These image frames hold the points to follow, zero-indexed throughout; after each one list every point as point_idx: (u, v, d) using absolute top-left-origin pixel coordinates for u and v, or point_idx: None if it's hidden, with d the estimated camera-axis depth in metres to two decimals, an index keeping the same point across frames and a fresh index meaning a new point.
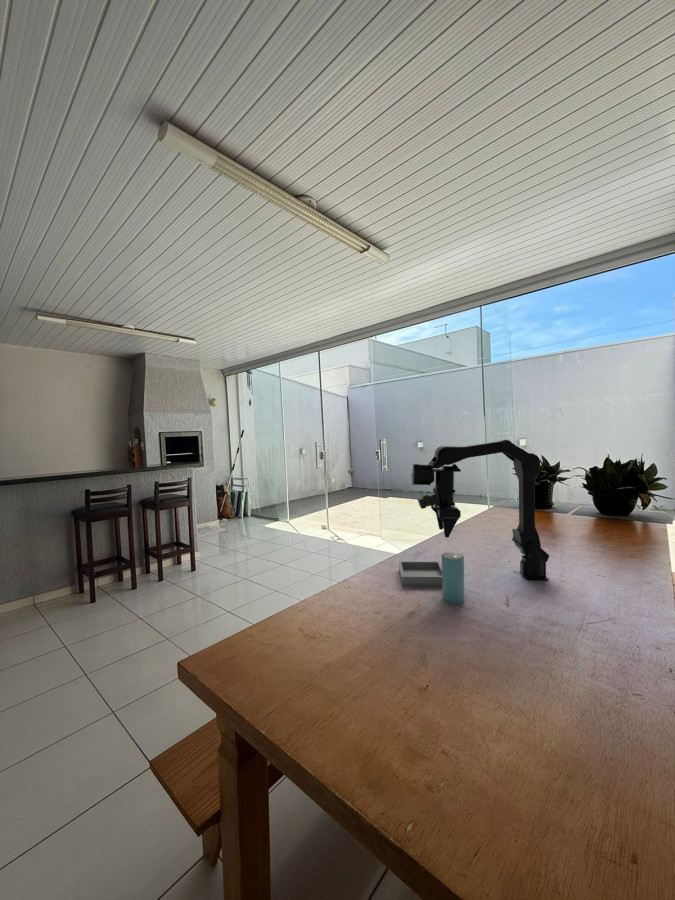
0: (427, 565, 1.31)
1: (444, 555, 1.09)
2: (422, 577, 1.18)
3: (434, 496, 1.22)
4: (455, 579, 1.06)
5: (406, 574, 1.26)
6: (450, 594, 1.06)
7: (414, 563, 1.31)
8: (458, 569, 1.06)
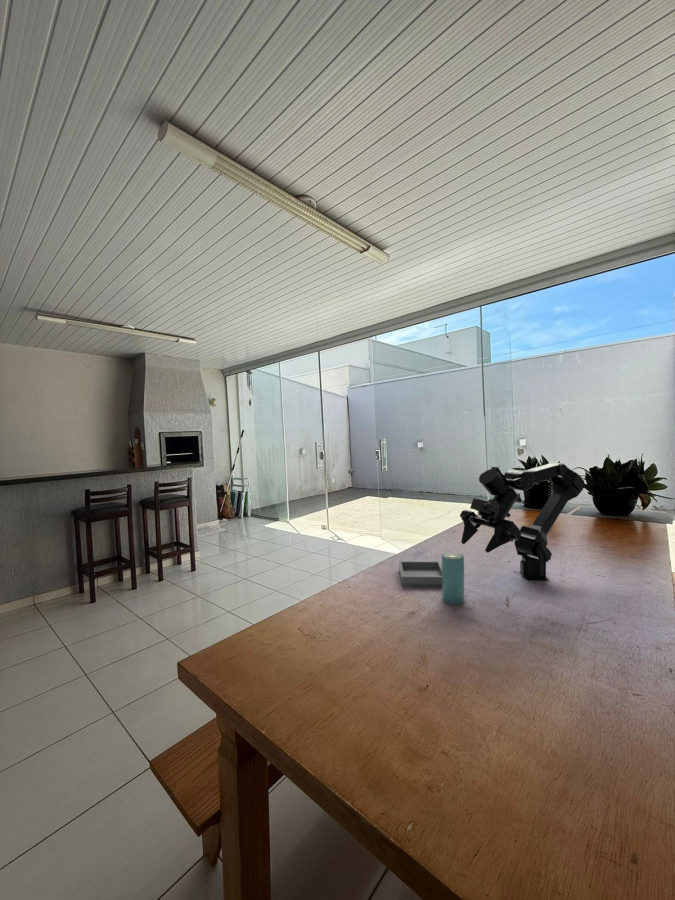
0: (427, 565, 1.31)
1: (444, 555, 1.09)
2: (422, 577, 1.18)
3: None
4: (455, 579, 1.06)
5: (406, 574, 1.26)
6: (450, 594, 1.06)
7: (414, 563, 1.31)
8: (458, 569, 1.06)
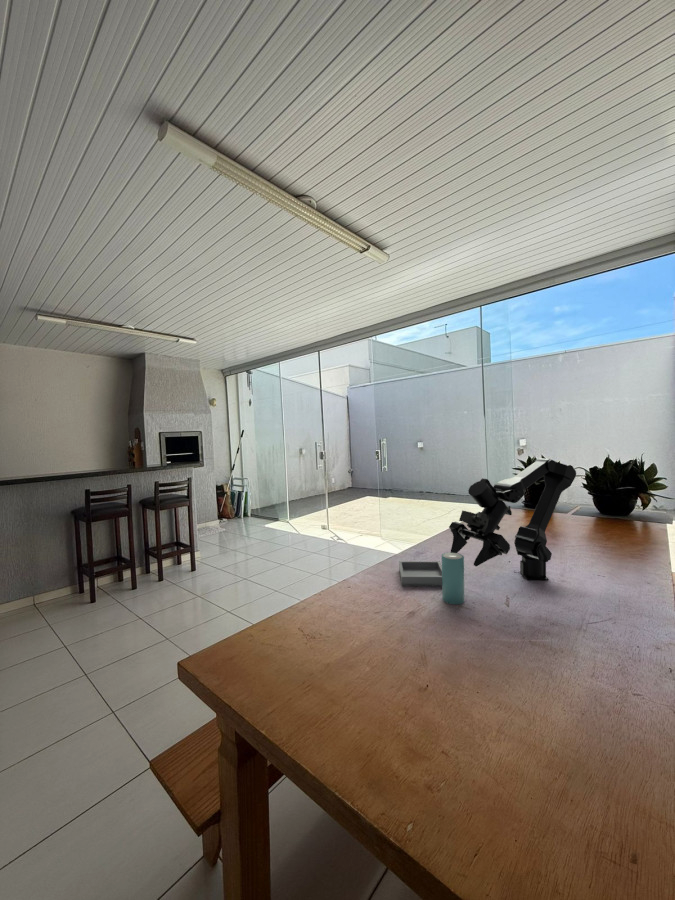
0: (427, 565, 1.31)
1: (444, 555, 1.09)
2: (422, 577, 1.18)
3: None
4: (455, 579, 1.06)
5: (406, 574, 1.26)
6: (450, 594, 1.06)
7: (414, 563, 1.31)
8: (458, 569, 1.06)
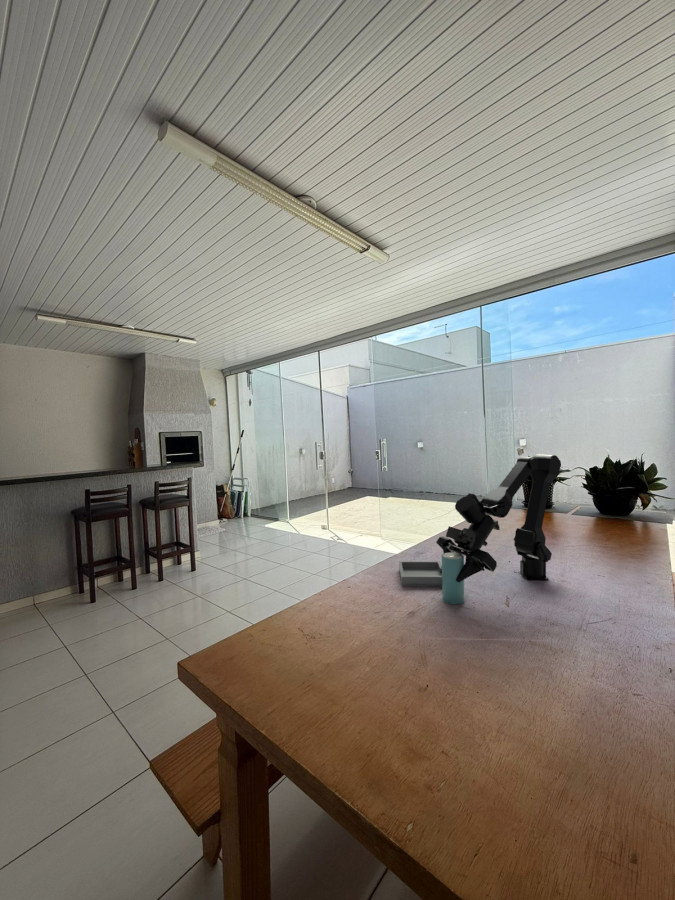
0: (427, 565, 1.31)
1: (444, 555, 1.09)
2: (422, 577, 1.18)
3: None
4: (455, 579, 1.06)
5: (406, 574, 1.26)
6: (450, 594, 1.06)
7: (414, 563, 1.31)
8: (458, 568, 1.06)
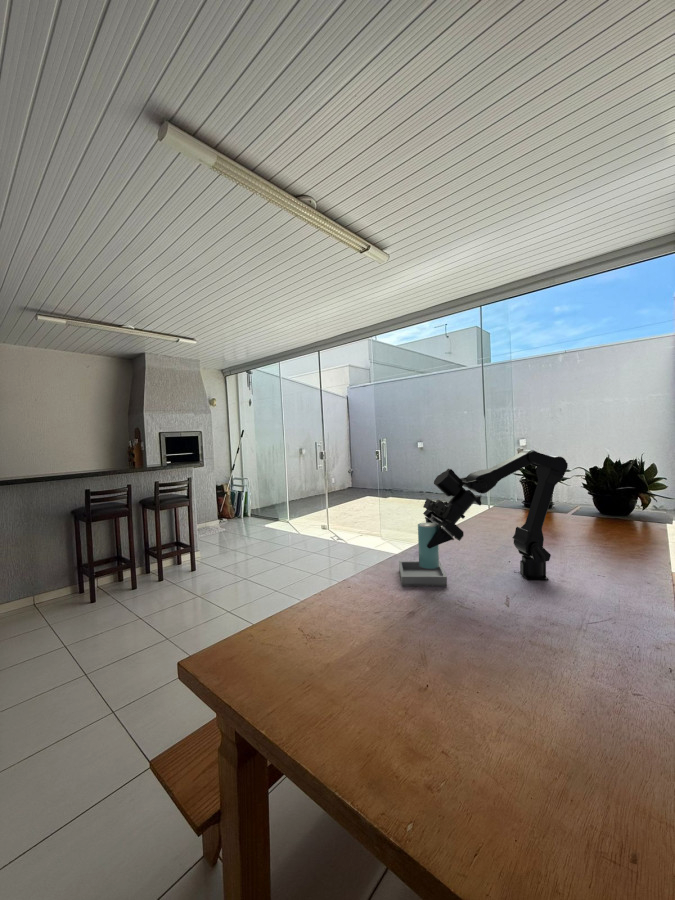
0: None
1: (420, 524, 1.19)
2: (422, 577, 1.18)
3: (445, 508, 1.16)
4: (426, 545, 1.16)
5: (406, 574, 1.26)
6: (423, 559, 1.17)
7: (414, 563, 1.31)
8: (429, 536, 1.15)
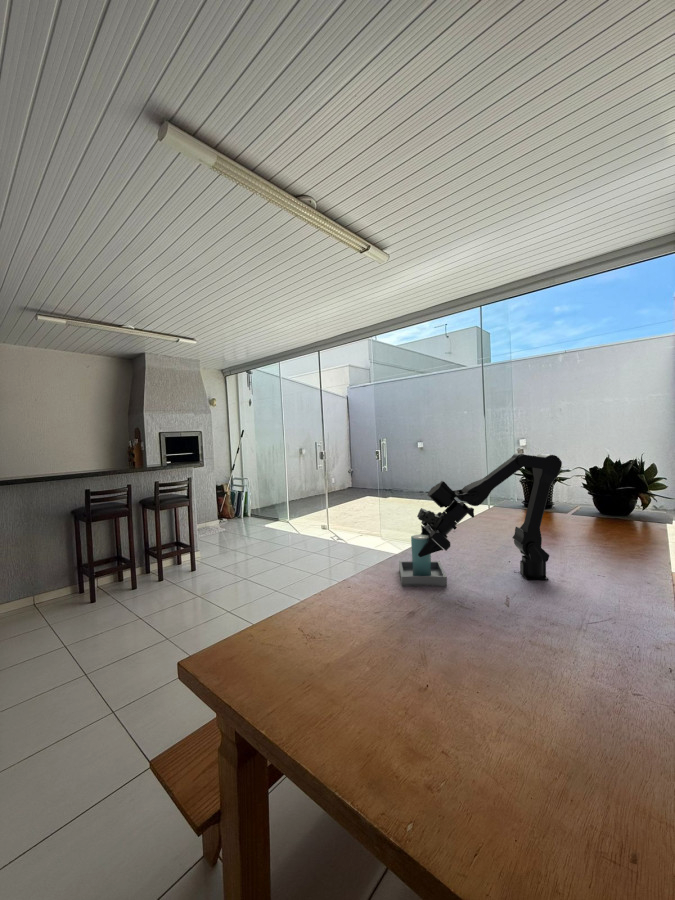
0: None
1: (414, 535, 1.26)
2: (422, 577, 1.18)
3: (437, 518, 1.22)
4: (417, 556, 1.22)
5: (406, 574, 1.26)
6: (415, 569, 1.23)
7: None
8: (420, 548, 1.22)
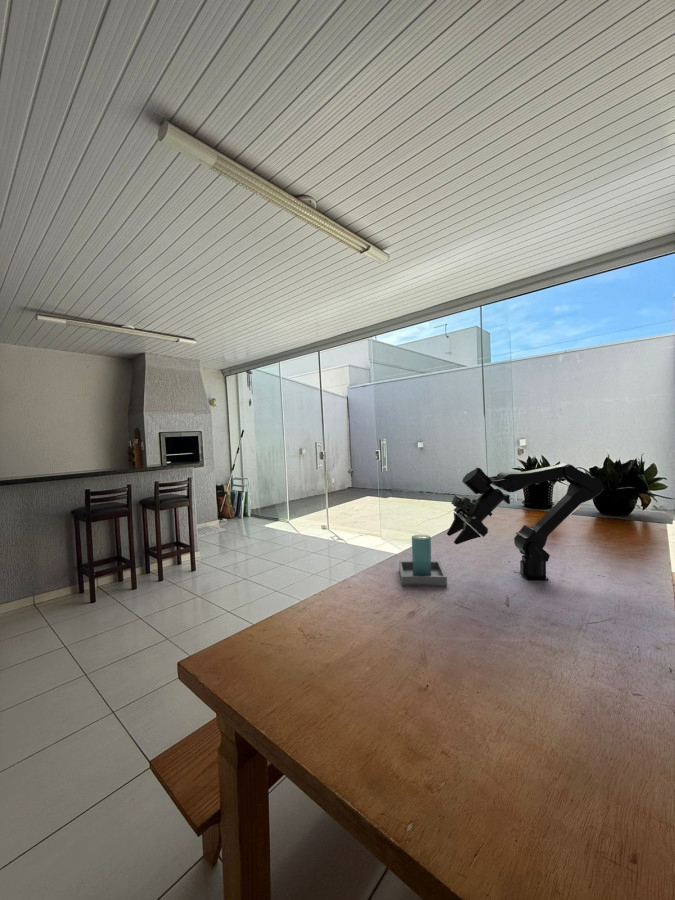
0: None
1: (415, 535, 1.26)
2: (422, 577, 1.18)
3: (472, 505, 1.20)
4: (417, 556, 1.22)
5: (406, 574, 1.26)
6: (415, 569, 1.23)
7: None
8: (420, 548, 1.22)
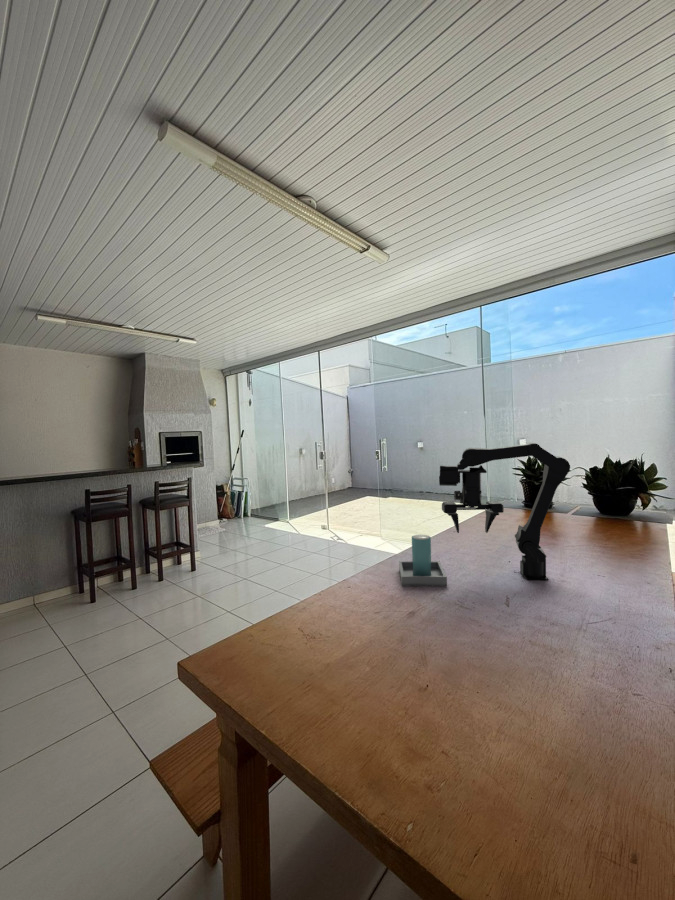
0: None
1: (414, 536, 1.26)
2: (422, 577, 1.18)
3: None
4: (417, 556, 1.22)
5: (406, 574, 1.26)
6: (415, 569, 1.23)
7: None
8: (420, 548, 1.22)
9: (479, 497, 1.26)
